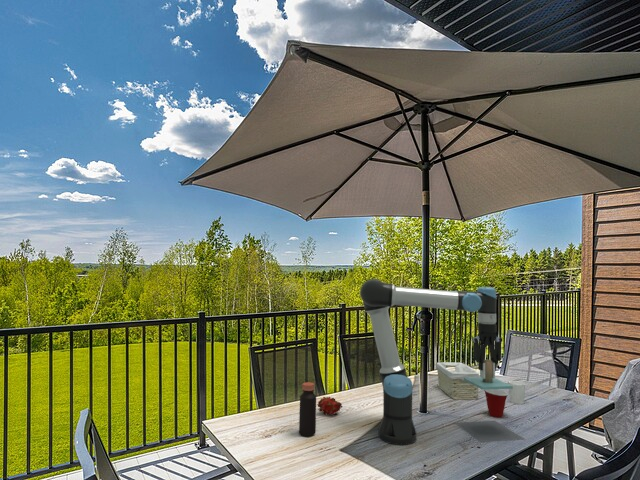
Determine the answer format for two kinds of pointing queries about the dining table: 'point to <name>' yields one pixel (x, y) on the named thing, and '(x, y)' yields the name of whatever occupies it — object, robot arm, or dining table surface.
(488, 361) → the lid
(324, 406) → the dragon fruit
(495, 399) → the plastic cup
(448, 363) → the storage basket
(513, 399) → the white cup
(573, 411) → the dining table surface
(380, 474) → the dining table surface
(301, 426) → the bottle
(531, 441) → the dining table surface
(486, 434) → the mat
